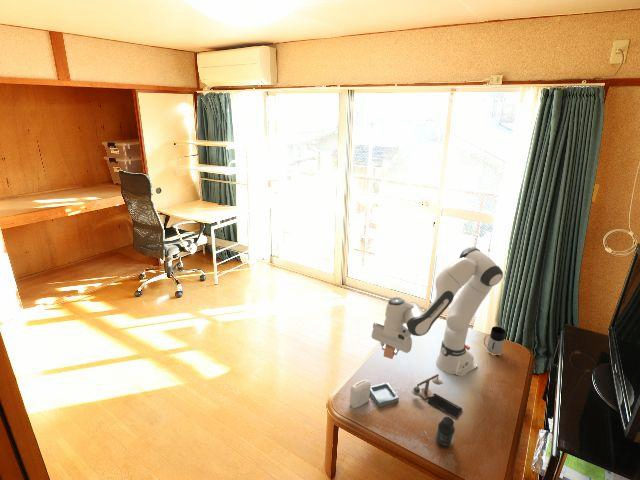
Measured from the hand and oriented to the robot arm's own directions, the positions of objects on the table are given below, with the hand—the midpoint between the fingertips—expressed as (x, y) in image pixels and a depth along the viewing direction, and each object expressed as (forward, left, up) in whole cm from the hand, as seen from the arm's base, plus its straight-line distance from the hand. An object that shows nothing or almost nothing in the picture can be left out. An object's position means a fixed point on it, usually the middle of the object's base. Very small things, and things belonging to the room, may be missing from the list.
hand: (389, 351), depth 185 cm
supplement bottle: (-6, +39, -20) cm, 44 cm away
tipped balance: (-15, +14, -20) cm, 28 cm away
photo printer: (+19, +8, -20) cm, 28 cm away
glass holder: (-72, -2, -20) cm, 74 cm away
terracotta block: (0, 0, -2) cm, 2 cm away
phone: (-19, +23, -20) cm, 36 cm away
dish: (+6, +8, -20) cm, 22 cm away
